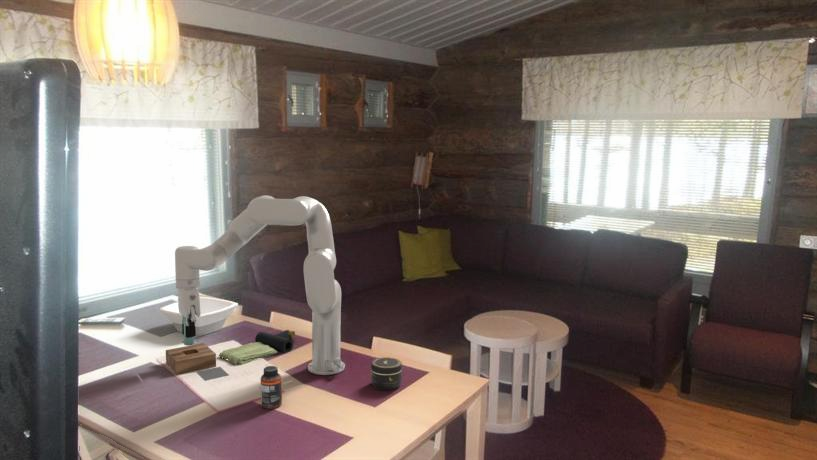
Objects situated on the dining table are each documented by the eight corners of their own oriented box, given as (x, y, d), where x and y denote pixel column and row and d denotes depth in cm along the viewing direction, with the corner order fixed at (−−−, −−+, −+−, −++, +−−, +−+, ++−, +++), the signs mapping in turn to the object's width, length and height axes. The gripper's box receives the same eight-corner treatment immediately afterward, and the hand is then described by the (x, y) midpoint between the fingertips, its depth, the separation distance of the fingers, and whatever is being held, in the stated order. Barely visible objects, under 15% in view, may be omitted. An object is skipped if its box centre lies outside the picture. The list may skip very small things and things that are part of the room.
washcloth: (279, 355, 211) (279, 346, 211) (237, 368, 198) (237, 359, 198) (258, 347, 220) (258, 338, 219) (216, 359, 206) (216, 350, 206)
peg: (194, 344, 197) (194, 316, 196) (185, 346, 195) (185, 317, 194) (192, 342, 199) (191, 314, 198) (183, 343, 198) (182, 315, 196)
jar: (376, 393, 179) (376, 369, 178) (366, 381, 188) (366, 358, 187) (406, 388, 182) (406, 365, 181) (395, 377, 192) (395, 355, 190)
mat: (229, 376, 190) (229, 375, 190) (204, 381, 185) (204, 380, 185) (220, 367, 197) (220, 366, 197) (196, 372, 192) (196, 371, 192)
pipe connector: (277, 325, 228) (305, 332, 220) (277, 338, 229) (305, 345, 221) (254, 333, 219) (283, 341, 211) (255, 346, 220) (283, 355, 212)
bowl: (199, 318, 254) (199, 295, 253) (244, 326, 243) (243, 302, 242) (154, 333, 233) (153, 308, 231) (200, 343, 222) (199, 317, 220)
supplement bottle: (273, 398, 173) (272, 362, 172) (286, 404, 170) (285, 367, 168) (256, 405, 169) (256, 368, 167) (269, 411, 165) (268, 373, 163)
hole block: (216, 367, 197) (215, 353, 196) (176, 375, 189) (176, 361, 189) (204, 356, 207) (203, 343, 207) (166, 363, 200) (165, 350, 199)
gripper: (206, 286, 190) (207, 340, 193) (191, 277, 203) (192, 327, 206) (183, 289, 186) (184, 344, 188) (169, 279, 199) (170, 331, 201)
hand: (188, 335), depth 197 cm, fingers closed on peg, 3 cm apart
